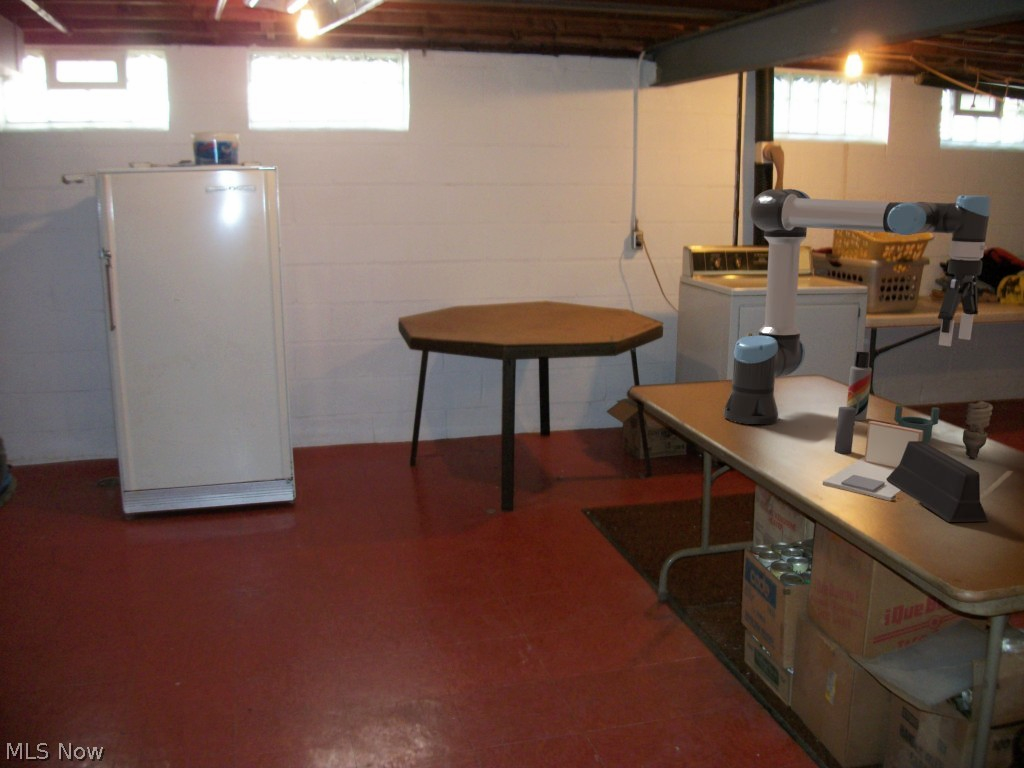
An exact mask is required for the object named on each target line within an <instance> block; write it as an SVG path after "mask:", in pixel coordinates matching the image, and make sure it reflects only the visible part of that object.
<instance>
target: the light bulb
mask: <svg viewBox="0 0 1024 768" xmlns="http://www.w3.org/2000/svg"><path fill="white" fill-rule="evenodd" d="M967 407H968V408H967V409H966V412H967V413H966V415H965V416H966V417H965V418H966V420H965V424H966V425H968V426H969V428H967V429H965V430H963V432H962V442H963V444H964V446H965V455H966V456H967V457H968V458H969V460H975V459H977V458H978V457H979V453H980V450H981V449H982V448H983V447H984V446H985V444H986V443H987V438H988V433H987V432H986V431H985V430H984V429H985V428H987V427H989V426H990V420H991V416H992V414H993V413H992V410H993V409H994V407H993V405H992V404H991V403H989V402H986V401H983V400H978V401H977V402H976V403H974V402H969V403H967Z"/></svg>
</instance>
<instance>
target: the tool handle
mask: <svg viewBox="0 0 1024 768" xmlns="http://www.w3.org/2000/svg"><path fill="white" fill-rule="evenodd" d="M855 414H856V409H855V408H852V407H847V406H839V407H838V414H837V422H836V423H837V424H836V433H835V442H834V452H835V453H836V454H840V455H851V454H852V449H853V441H854V431H855V422H856V421H855Z"/></svg>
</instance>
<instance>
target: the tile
mask: <svg viewBox="0 0 1024 768" xmlns="http://www.w3.org/2000/svg"><path fill="white" fill-rule="evenodd" d="M922 438H923V431H922V430H917V429H912V428H907V427H901V426H898V425H896V424H888V423H884V422H879V421H873V420H870V421H868V425H867V435H866V444H865V454H864V457H865V460H864V462H868V463H872V464H877V465H881V466H886V467H890V468H895V469H896V468H897V466H898V465H899V464H900V462H901V459H902V457H903V454H904V452H905V449H906V446H907V444H908V442H909V441H922Z"/></svg>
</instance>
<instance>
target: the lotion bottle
mask: <svg viewBox="0 0 1024 768" xmlns="http://www.w3.org/2000/svg"><path fill="white" fill-rule="evenodd" d="M854 356H855V357H854V364H853V365H852V366H850V368H849V369H850V370H849V377H848V378H849V380H848V381H849V382H848V388H847V396H846V397H847V398H846V399H847V400H846V407H852V408H855V409H856V414H855V420H856V421H857V422H862V421H866V420H867V415H868V410H869V409H868V408H869V399H870V398H869V397H870V389H871V382H872V381H871V380H872V368H871V367H870V357H871V352H869V351H868V352H867V351H858V350H857V351H855V355H854ZM856 421H855V422H856Z"/></svg>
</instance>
